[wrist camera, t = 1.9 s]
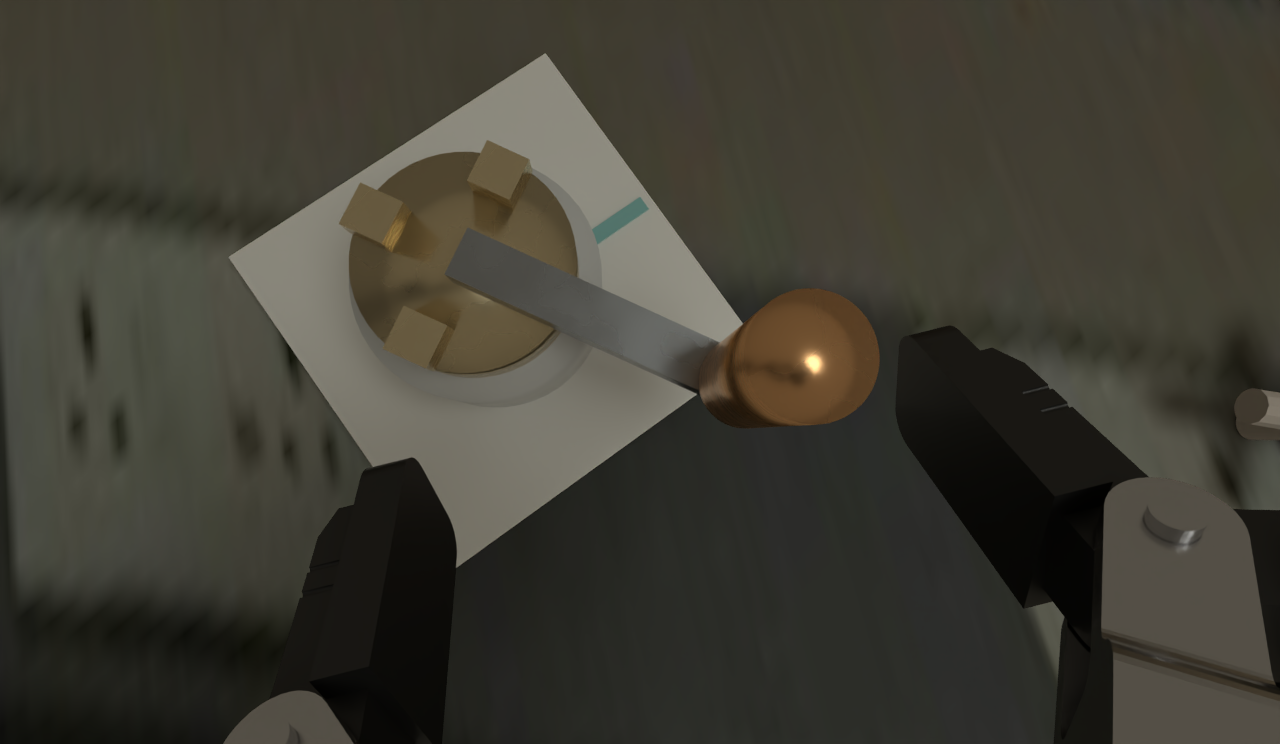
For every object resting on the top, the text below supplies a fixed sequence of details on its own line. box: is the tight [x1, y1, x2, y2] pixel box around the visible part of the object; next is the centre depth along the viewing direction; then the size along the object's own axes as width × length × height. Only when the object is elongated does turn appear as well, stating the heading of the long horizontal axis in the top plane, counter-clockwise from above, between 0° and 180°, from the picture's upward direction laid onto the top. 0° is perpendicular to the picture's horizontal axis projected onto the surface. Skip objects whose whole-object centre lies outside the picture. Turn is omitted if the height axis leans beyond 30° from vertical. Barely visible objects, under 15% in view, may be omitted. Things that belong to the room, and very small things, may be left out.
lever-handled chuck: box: [339, 140, 880, 428], centre depth 23 cm, size 18×9×12 cm, turn 66°
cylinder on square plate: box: [229, 53, 743, 568], centre depth 33 cm, size 20×20×8 cm
